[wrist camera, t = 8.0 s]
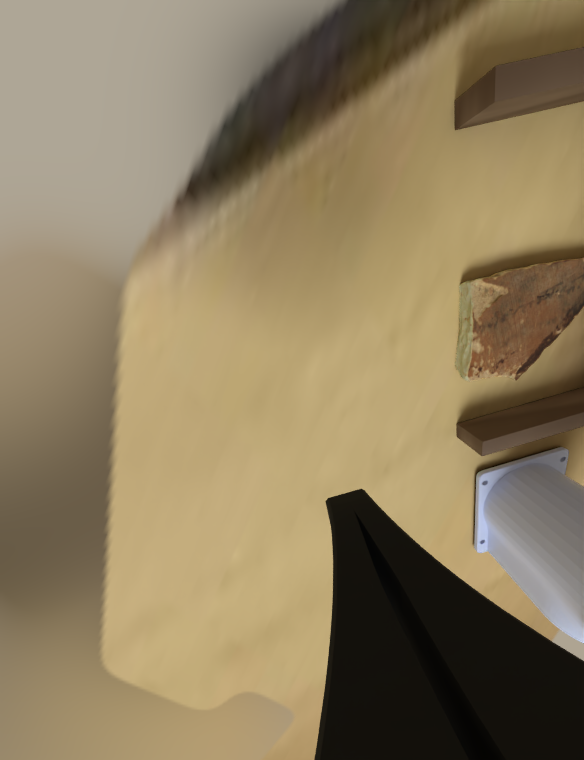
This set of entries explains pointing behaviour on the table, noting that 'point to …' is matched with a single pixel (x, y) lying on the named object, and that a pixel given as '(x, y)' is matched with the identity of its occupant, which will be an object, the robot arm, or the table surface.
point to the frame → (492, 103)
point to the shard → (515, 317)
